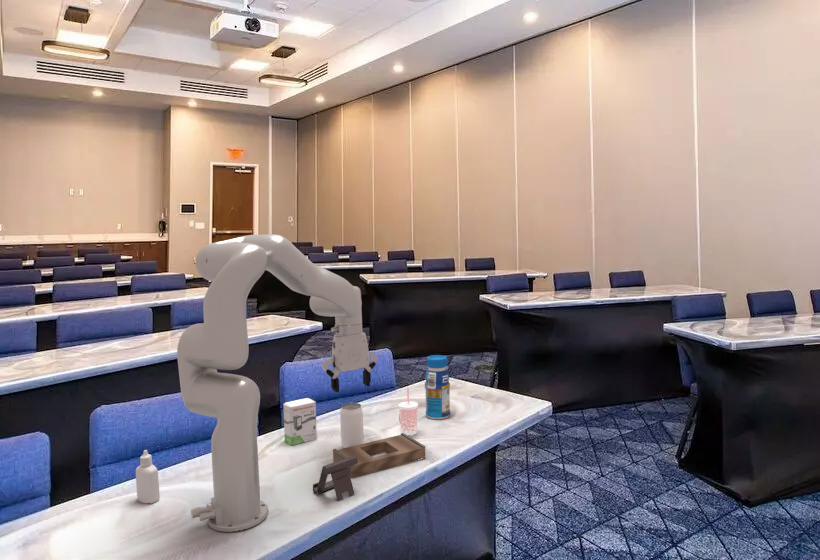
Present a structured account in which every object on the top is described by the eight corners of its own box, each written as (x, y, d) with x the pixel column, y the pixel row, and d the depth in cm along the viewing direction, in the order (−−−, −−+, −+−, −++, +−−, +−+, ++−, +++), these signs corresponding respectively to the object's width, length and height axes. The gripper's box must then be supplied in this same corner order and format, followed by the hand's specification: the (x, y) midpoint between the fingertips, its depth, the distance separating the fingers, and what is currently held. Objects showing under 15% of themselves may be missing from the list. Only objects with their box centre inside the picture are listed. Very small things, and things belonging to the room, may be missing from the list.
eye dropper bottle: (156, 492, 132) (153, 444, 131) (160, 501, 128) (157, 452, 127) (136, 497, 130) (133, 448, 129) (140, 507, 125) (136, 456, 124)
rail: (351, 478, 138) (351, 465, 138) (333, 461, 148) (332, 449, 148) (425, 458, 149) (425, 446, 149) (403, 444, 159) (403, 432, 159)
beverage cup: (422, 434, 167) (421, 389, 166) (403, 437, 164) (402, 392, 163) (414, 428, 172) (413, 384, 171) (396, 431, 170) (395, 387, 169)
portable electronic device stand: (343, 481, 136) (342, 448, 136) (362, 492, 131) (361, 458, 130) (312, 493, 131) (311, 459, 130) (331, 504, 125) (329, 469, 124)
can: (343, 451, 155) (341, 410, 154) (339, 443, 161) (338, 403, 160) (365, 448, 157) (364, 407, 156) (361, 440, 163) (360, 401, 162)
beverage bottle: (421, 413, 186) (420, 355, 184) (445, 410, 189) (444, 353, 187) (430, 421, 178) (429, 361, 176) (454, 418, 181) (453, 358, 179)
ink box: (291, 446, 160) (289, 406, 159) (284, 441, 164) (282, 402, 163) (317, 439, 165) (316, 400, 164) (310, 434, 169) (308, 397, 168)
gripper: (325, 335, 148) (328, 396, 150) (382, 327, 157) (384, 385, 159) (315, 331, 155) (318, 390, 157) (370, 324, 164) (372, 380, 165)
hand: (351, 388), depth 158 cm, fingers open, 9 cm apart
